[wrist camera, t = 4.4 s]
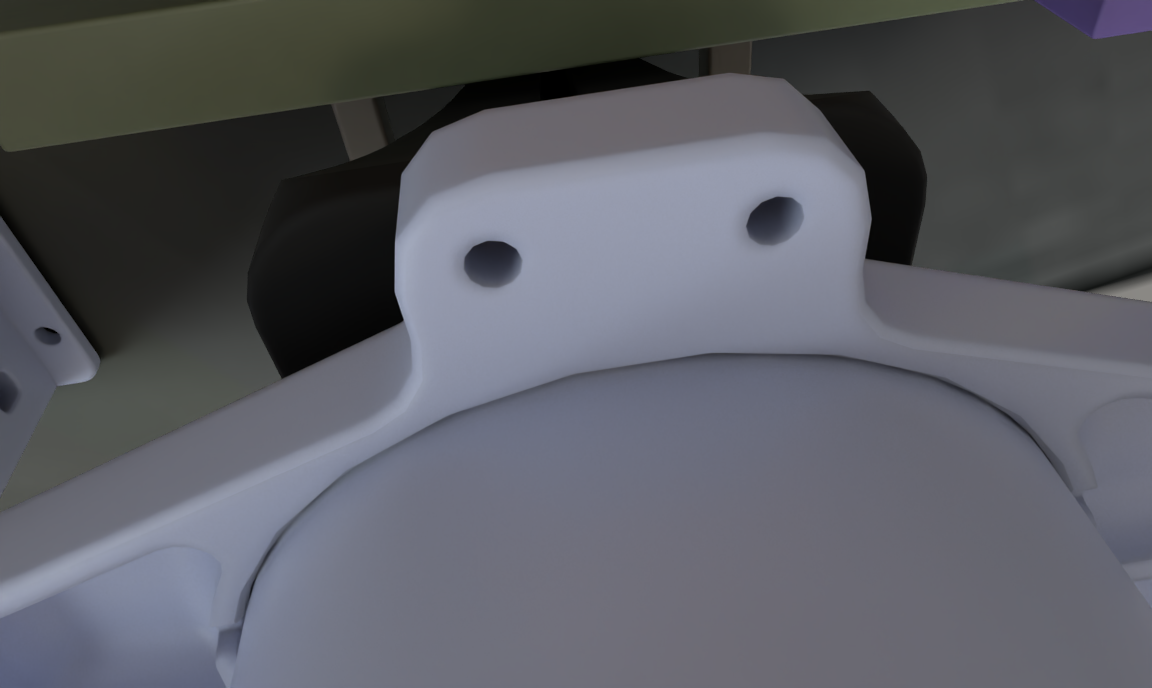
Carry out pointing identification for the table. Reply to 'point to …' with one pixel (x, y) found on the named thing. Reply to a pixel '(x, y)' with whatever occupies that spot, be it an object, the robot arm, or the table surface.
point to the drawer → (349, 53)
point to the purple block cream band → (1103, 15)
